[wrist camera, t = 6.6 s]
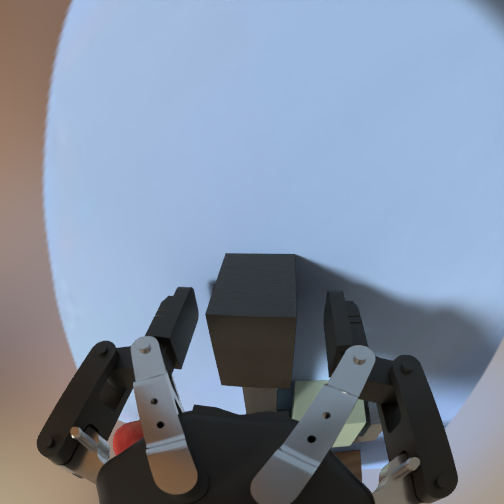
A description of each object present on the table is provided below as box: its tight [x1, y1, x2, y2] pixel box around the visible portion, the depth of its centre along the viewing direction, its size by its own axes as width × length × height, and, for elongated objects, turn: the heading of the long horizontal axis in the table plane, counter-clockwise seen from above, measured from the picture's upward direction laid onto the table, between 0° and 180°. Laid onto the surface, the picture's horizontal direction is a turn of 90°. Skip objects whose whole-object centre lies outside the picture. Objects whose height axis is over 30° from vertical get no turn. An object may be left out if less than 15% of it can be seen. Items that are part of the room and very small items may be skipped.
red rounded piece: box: [113, 420, 144, 455], centre depth 24 cm, size 6×6×8 cm
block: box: [291, 380, 366, 447], centre depth 19 cm, size 5×5×4 cm
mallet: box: [205, 254, 382, 443], centre depth 16 cm, size 18×12×4 cm
